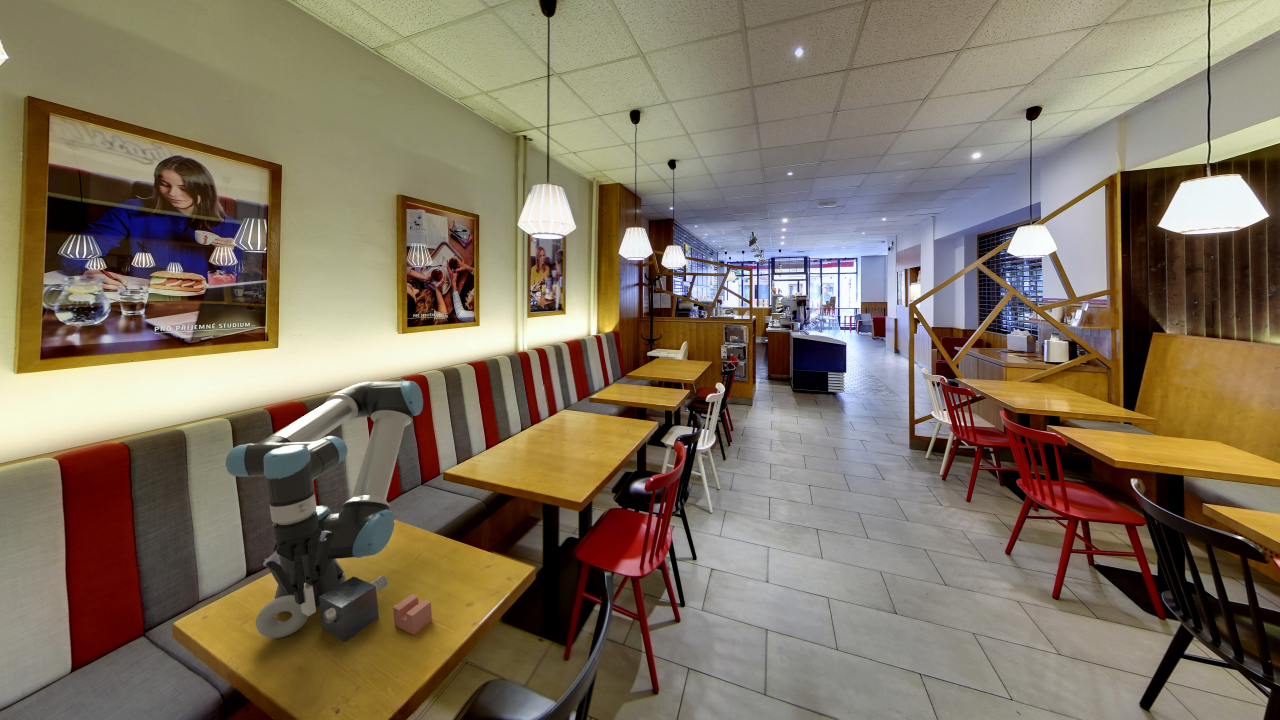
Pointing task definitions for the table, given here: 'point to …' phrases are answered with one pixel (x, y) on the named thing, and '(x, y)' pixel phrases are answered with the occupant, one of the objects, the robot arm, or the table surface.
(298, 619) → the donut
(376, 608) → the block with square hole
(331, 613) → the axle
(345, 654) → the table surface
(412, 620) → the v block
